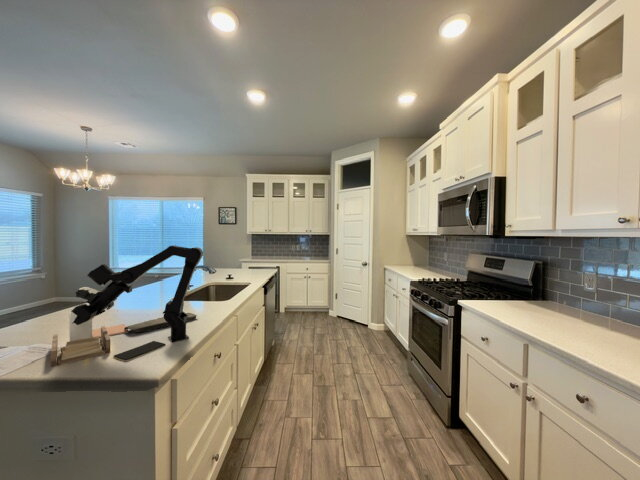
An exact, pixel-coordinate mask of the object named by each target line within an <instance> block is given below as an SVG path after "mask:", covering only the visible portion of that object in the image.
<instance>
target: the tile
mask: <svg viewBox="0 0 640 480" xmlns="http://www.w3.org/2000/svg"><path fill="white" fill-rule="evenodd" d="M125 327H127V326H126V325H125V323H124V324H117V325H112V326H105V328H106V330H107V332H108V335H109V337H112V336H116V335H123V334H125V333H126V334H128V333H129V330H130V329H126V330H124V328H125ZM97 336H99V339H101V327H100V328H96V329H92V337H97Z"/></svg>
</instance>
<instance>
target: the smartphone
mask: <svg viewBox="0 0 640 480" xmlns="http://www.w3.org/2000/svg"><path fill="white" fill-rule="evenodd" d="M163 347H166V343H164V342H160V341H156V340H152V341H150V342H148V343H145V344H142V345H139V346H136V347H134V348H131V349H128V350H126V351H123V352H120V353H117V354H114V355H112V356H113V359H116V360H119V361H122V362H129V361H132V360H134V359H137V358H139V357H142V356H144V355H147V354H150V353H152V352H154V351H156V350H159V349H162V348H163Z"/></svg>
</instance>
